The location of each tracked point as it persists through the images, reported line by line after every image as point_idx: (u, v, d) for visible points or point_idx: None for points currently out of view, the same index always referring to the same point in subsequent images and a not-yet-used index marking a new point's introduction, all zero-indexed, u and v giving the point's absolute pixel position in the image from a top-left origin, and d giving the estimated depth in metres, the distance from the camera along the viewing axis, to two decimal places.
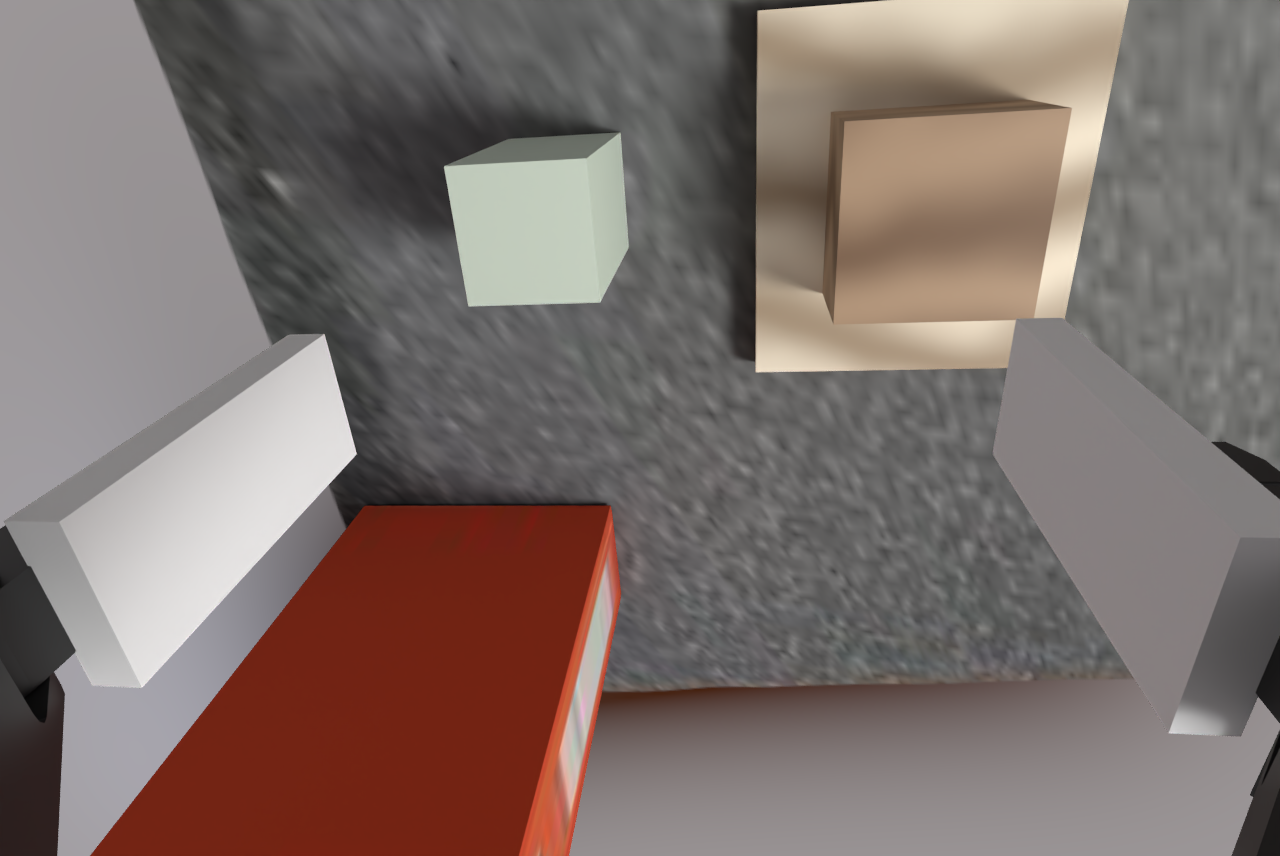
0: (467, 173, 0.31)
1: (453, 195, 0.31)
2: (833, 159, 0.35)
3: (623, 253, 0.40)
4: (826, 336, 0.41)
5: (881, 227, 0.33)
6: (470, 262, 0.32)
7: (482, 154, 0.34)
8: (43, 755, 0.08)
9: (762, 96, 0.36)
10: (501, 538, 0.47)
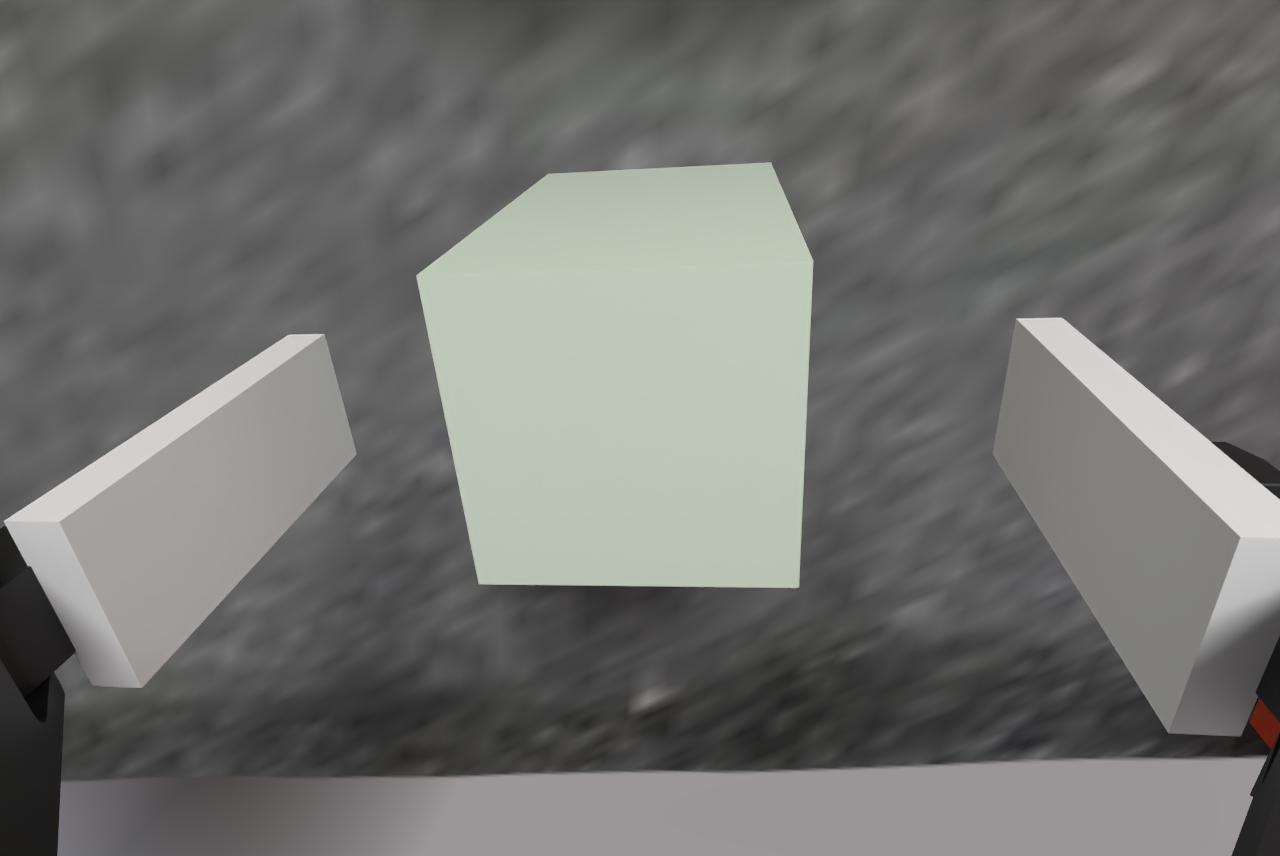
0: (488, 543, 0.14)
1: (538, 576, 0.14)
2: None
3: (768, 175, 0.18)
4: None
5: None
6: (689, 567, 0.14)
7: None
8: (43, 755, 0.08)
9: None
10: None
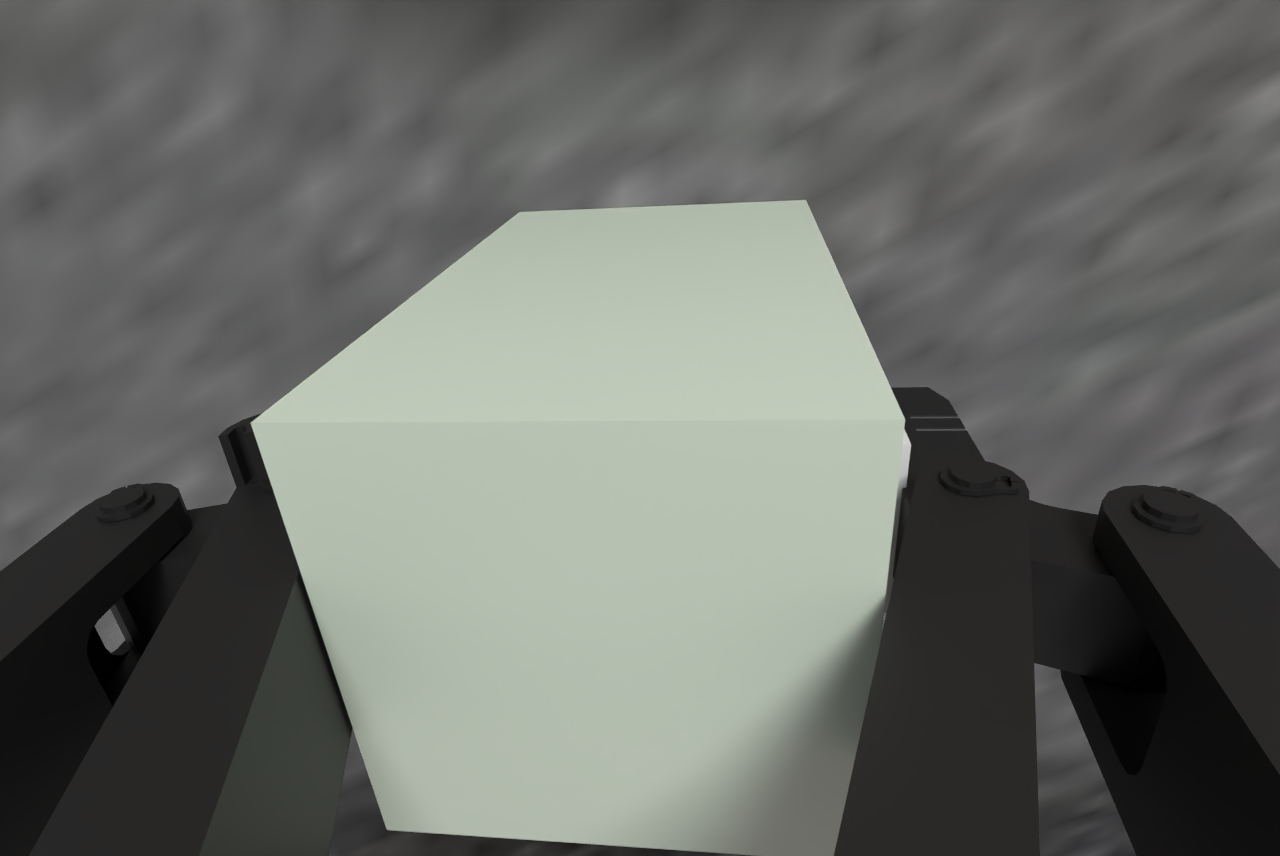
0: (395, 782, 0.09)
1: (471, 825, 0.10)
2: None
3: (805, 222, 0.13)
4: None
5: None
6: (692, 828, 0.09)
7: None
8: None
9: None
10: None
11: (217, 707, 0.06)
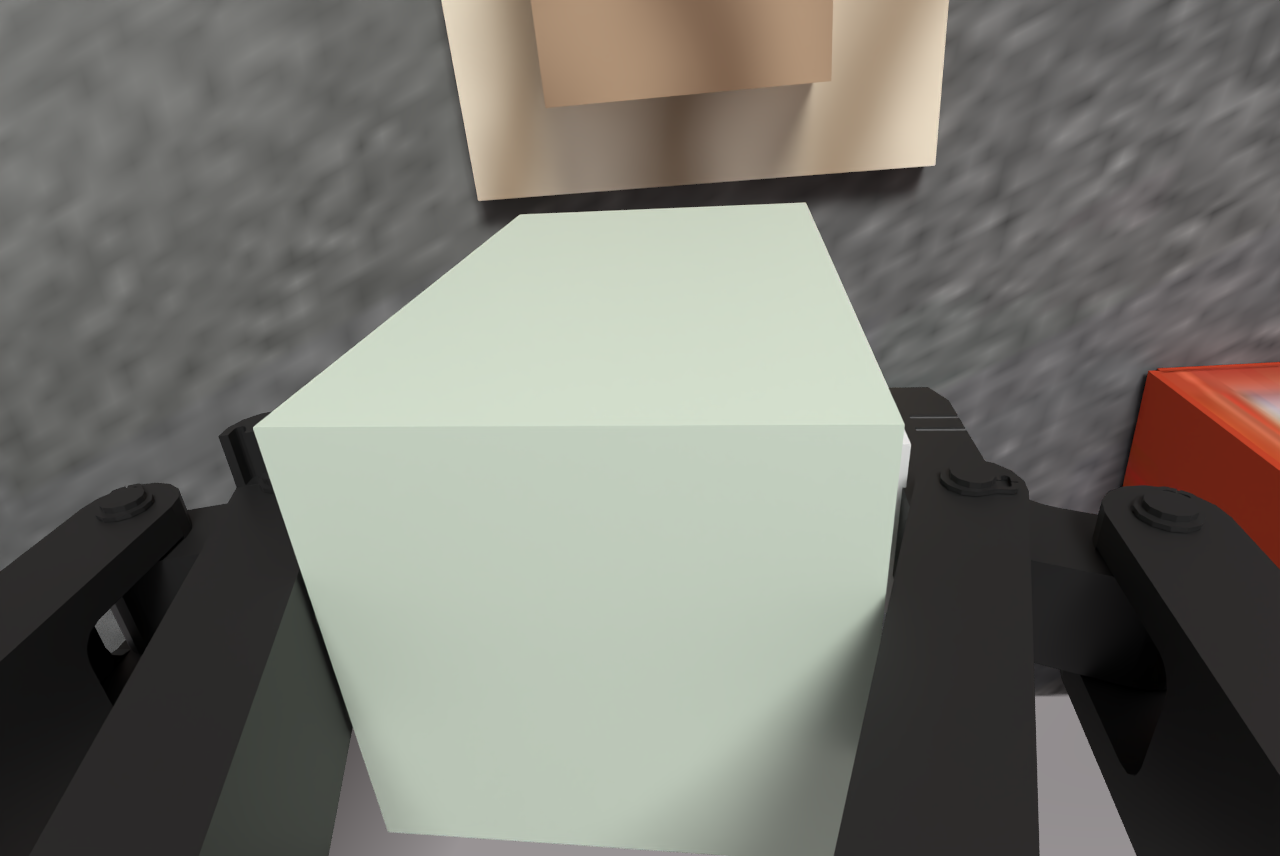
0: (397, 784, 0.09)
1: (472, 827, 0.10)
2: None
3: (805, 225, 0.13)
4: (884, 58, 0.27)
5: (680, 27, 0.23)
6: (692, 830, 0.09)
7: None
8: None
9: (564, 188, 0.30)
10: None
11: (217, 707, 0.06)
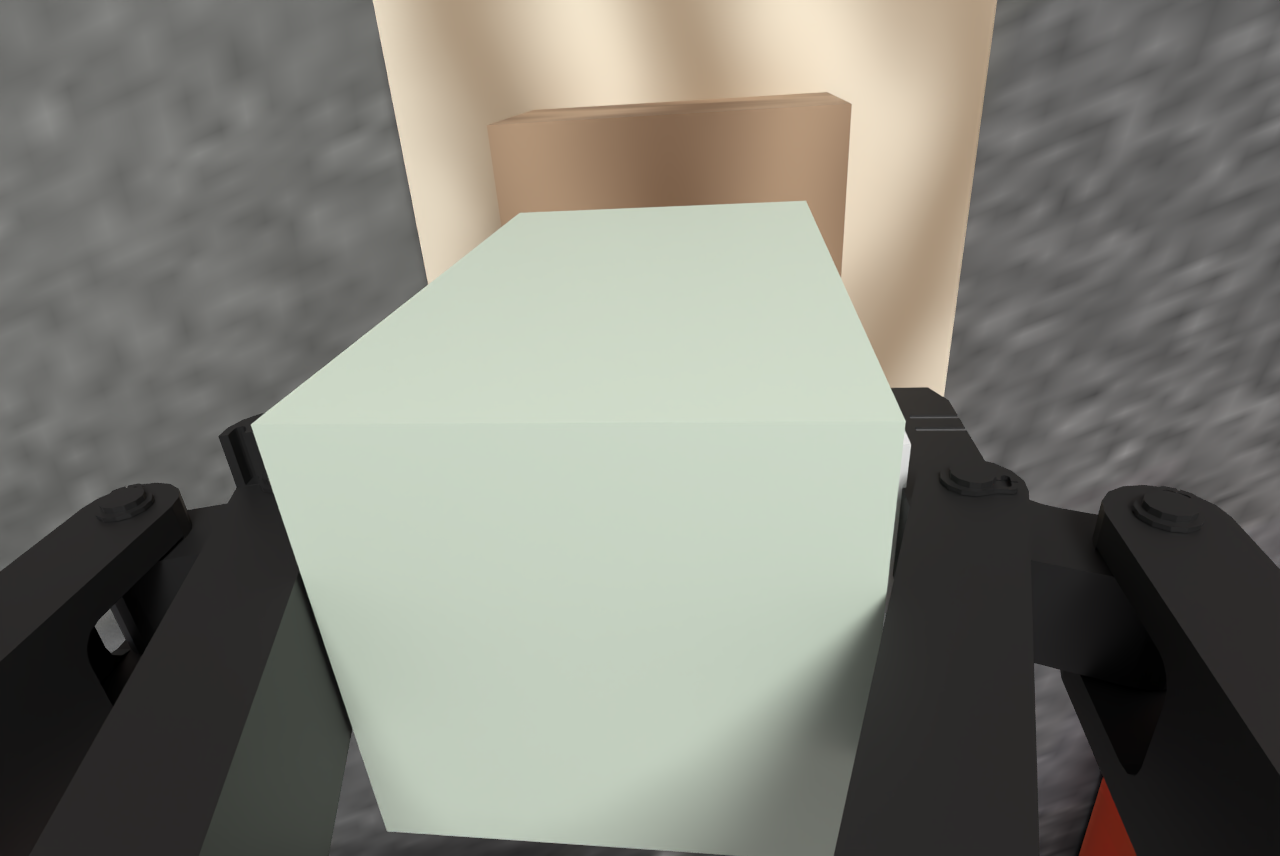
0: (396, 783, 0.09)
1: (471, 826, 0.10)
2: None
3: (805, 223, 0.13)
4: (886, 361, 0.26)
5: None
6: (692, 829, 0.09)
7: None
8: None
9: None
10: None
11: (217, 707, 0.06)
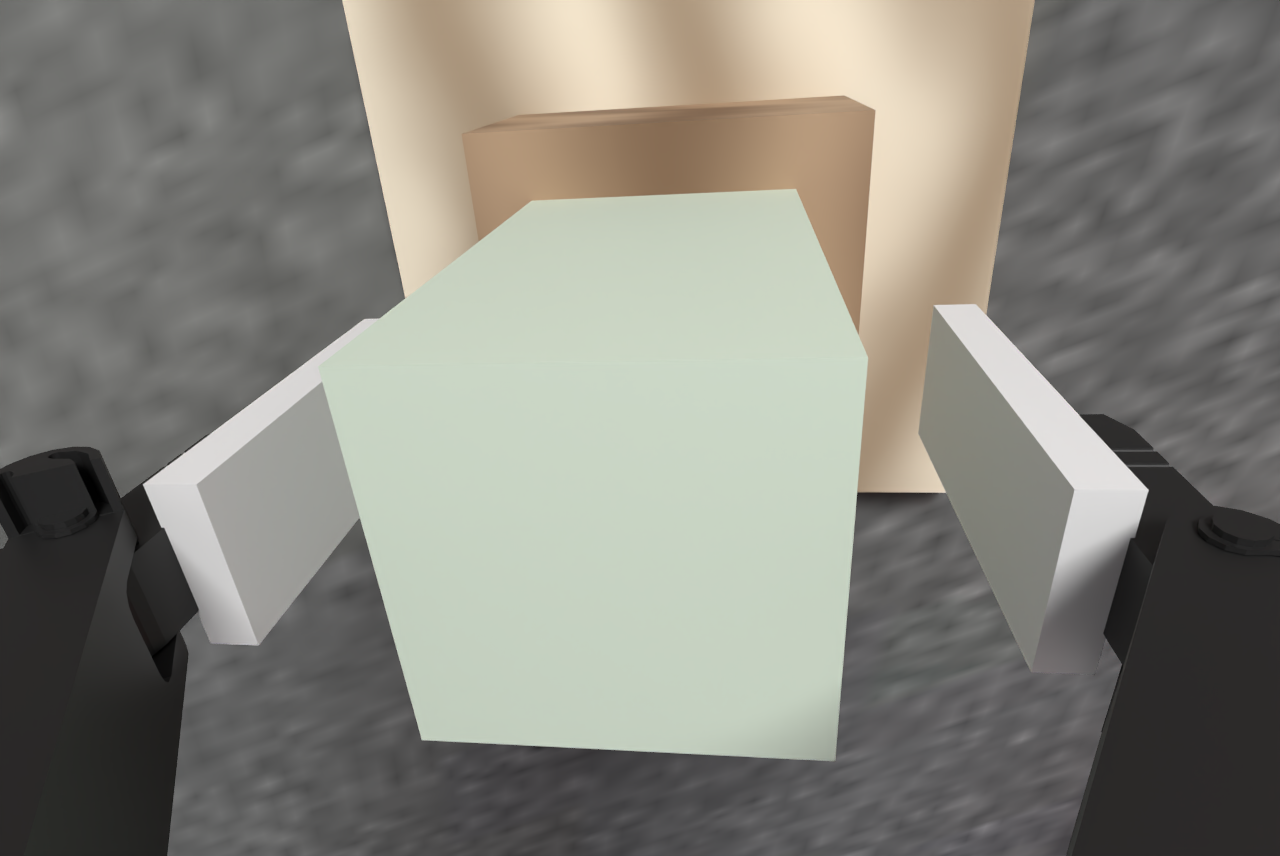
0: (431, 694, 0.11)
1: (497, 734, 0.11)
2: None
3: (794, 207, 0.15)
4: (906, 389, 0.24)
5: None
6: (691, 732, 0.10)
7: None
8: (165, 713, 0.09)
9: None
10: None
11: (14, 754, 0.06)
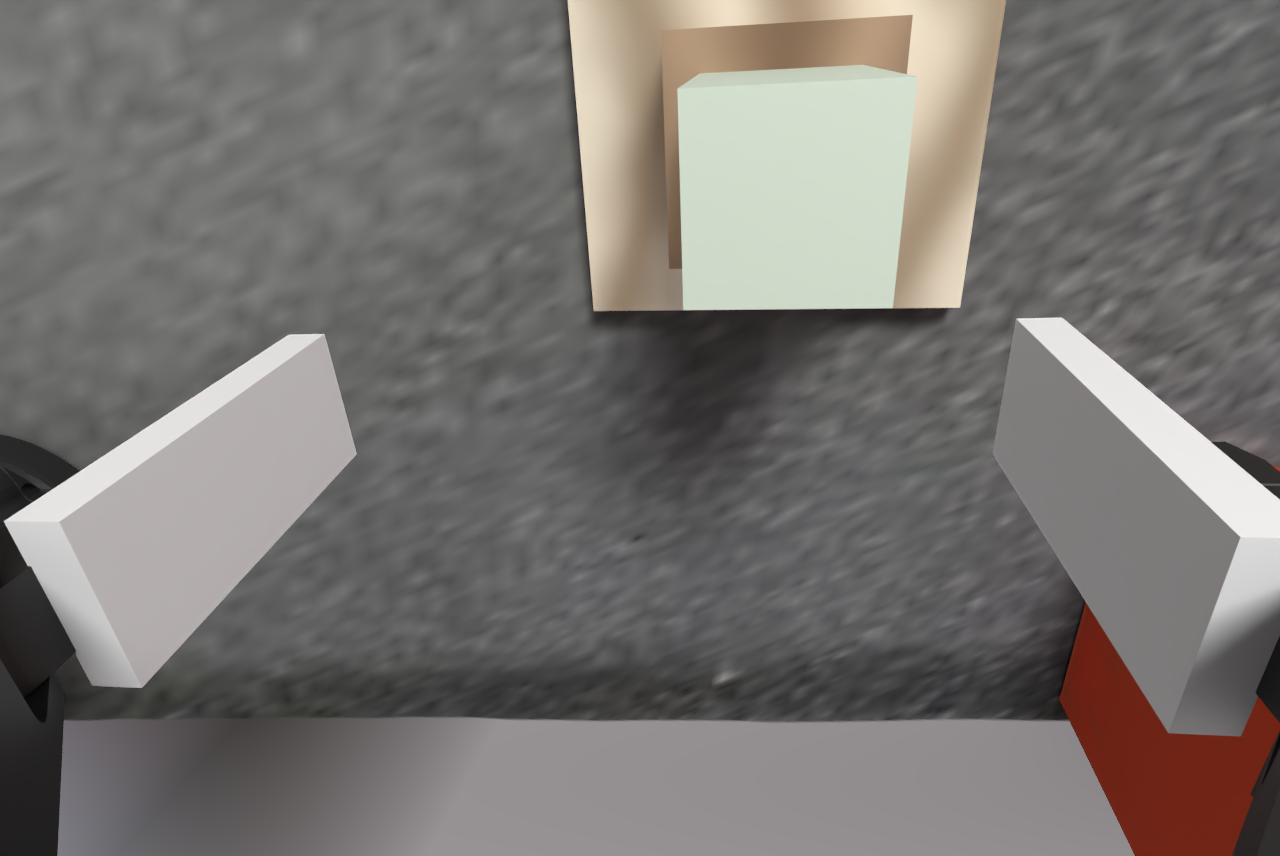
0: (694, 278, 0.22)
1: (723, 303, 0.22)
2: None
3: None
4: (925, 228, 0.34)
5: None
6: (823, 294, 0.21)
7: None
8: (43, 755, 0.08)
9: (664, 306, 0.38)
10: None
11: None
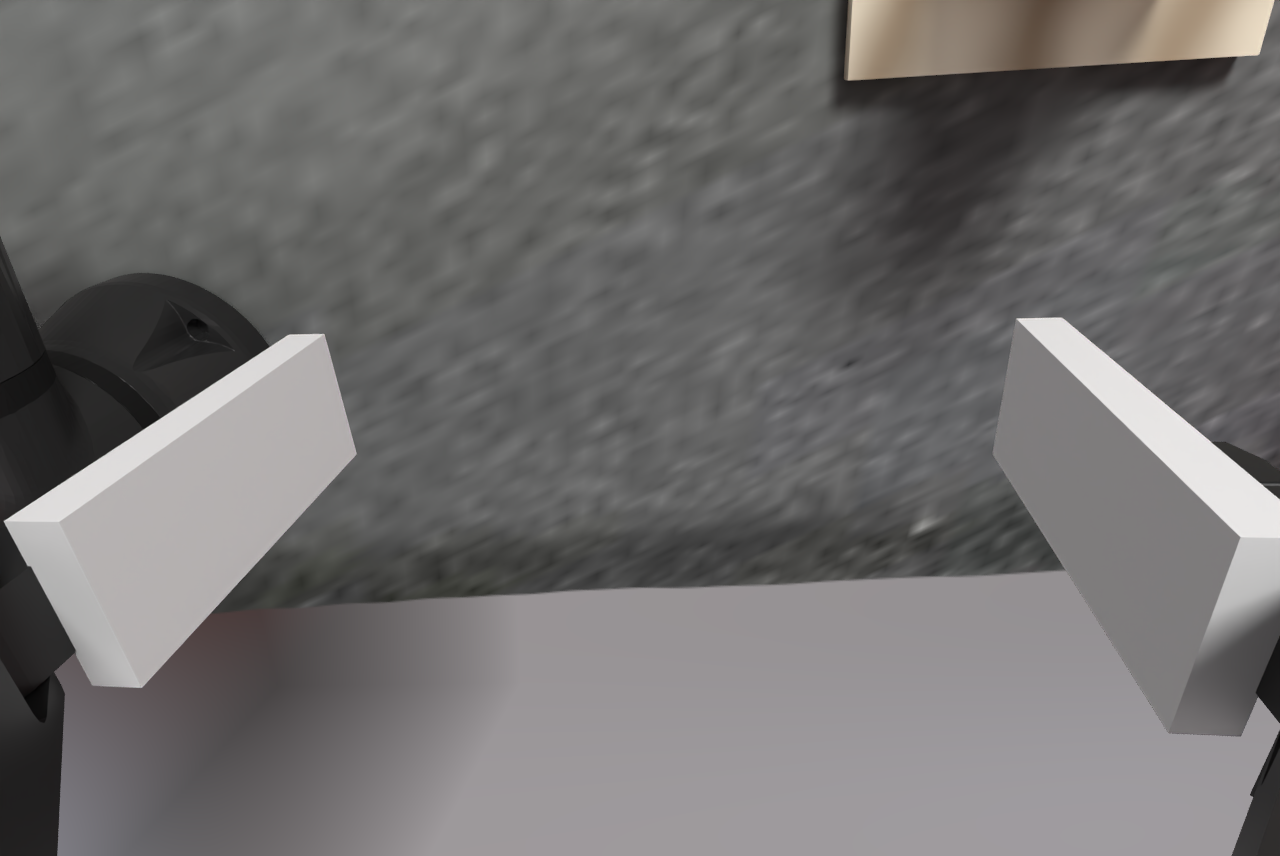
0: None
1: None
2: None
3: None
4: None
5: None
6: None
7: None
8: (43, 755, 0.08)
9: (927, 70, 0.35)
10: None
11: None
